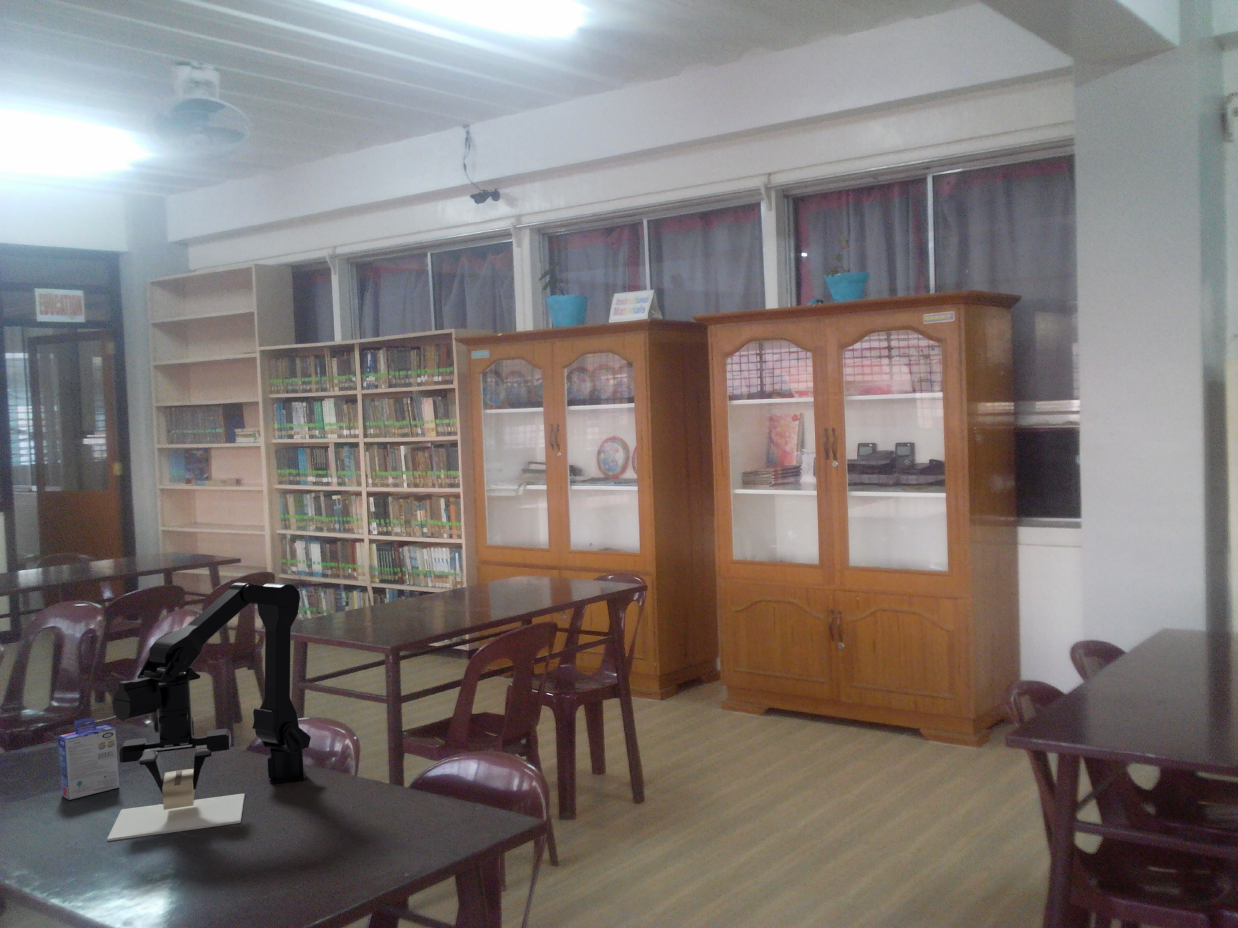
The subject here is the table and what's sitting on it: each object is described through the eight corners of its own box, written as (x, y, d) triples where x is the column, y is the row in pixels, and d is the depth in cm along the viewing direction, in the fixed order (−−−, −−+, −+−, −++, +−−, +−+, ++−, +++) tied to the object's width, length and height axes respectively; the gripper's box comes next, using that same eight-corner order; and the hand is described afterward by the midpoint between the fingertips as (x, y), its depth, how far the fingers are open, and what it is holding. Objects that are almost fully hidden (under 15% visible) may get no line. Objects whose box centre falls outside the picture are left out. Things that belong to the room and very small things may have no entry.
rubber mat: (244, 795, 210) (244, 793, 210) (240, 822, 195) (240, 820, 195) (121, 811, 204) (121, 809, 204) (107, 840, 188) (107, 838, 188)
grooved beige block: (193, 805, 196) (192, 782, 196) (163, 809, 194) (162, 786, 194) (194, 789, 206) (193, 767, 205) (166, 793, 204) (165, 771, 204)
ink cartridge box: (111, 782, 222) (107, 712, 222) (121, 787, 218) (117, 716, 218) (59, 795, 215) (55, 723, 215) (69, 801, 211) (64, 727, 211)
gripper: (230, 692, 210) (234, 771, 210) (126, 703, 205) (130, 784, 205) (226, 705, 199) (231, 789, 200) (116, 717, 194) (121, 803, 194)
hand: (179, 790), depth 200 cm, fingers closed on grooved beige block, 5 cm apart
